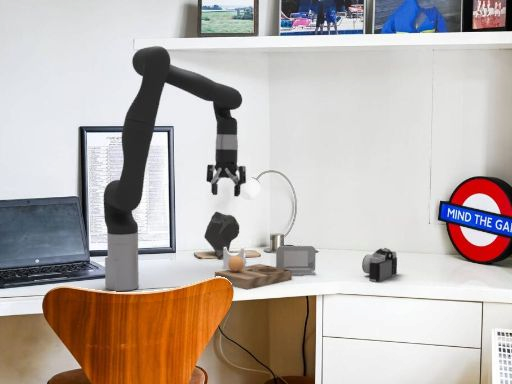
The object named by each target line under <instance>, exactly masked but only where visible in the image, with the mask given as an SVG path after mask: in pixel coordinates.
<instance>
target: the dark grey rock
mask: <svg viewBox="0 0 512 384" xmlns="http://www.w3.org/2000/svg"><path fill="white" fill-rule="evenodd" d="M239 234H240V224H239V222H238V221H237V219H236V217H235V216H234V215H231V214H226V213H225V214H224V213H222V212H219V211H215V212H214V213H213V215H212V216H211V219H210V221H209V222H208V225H207V226H206V230H205V233H204V236H203V237H204V239H205V240H206V242H207V243H208V244H209V245H210V246H211V247H212V249H213V250H214V254H215V253H216V254H217V255H218V256H217V255H216V256H217V258H218V257H219V258H218V261H219V260H220V261H223V248H224V247H227V250H228V252H229V253H230V248H231V242H232V241H234V240H235V239H236V238H238V236H239Z"/></svg>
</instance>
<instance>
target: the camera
mask: <svg viewBox="0 0 512 384" xmlns="http://www.w3.org/2000/svg"><path fill="white" fill-rule="evenodd" d="M361 267H362V271H363V273H365V274H368V275H369V277H368V280H369V281H370V282H375V283H376V282H381V281H384V280H387V279H389V278H390V279H391V278H393V277H396V276H397V273H398V272H397V271H398V268H397V267H398V257H397V252H396V251H391V249H389V248H387V247H383V248H382V247H381V248H378V249H377V250H375V251H374V252H373V253H372V254H366V255H365V256H364V257H363V259H362V263H361Z"/></svg>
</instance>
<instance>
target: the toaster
mask: <svg viewBox="0 0 512 384" xmlns="http://www.w3.org/2000/svg"><path fill="white" fill-rule="evenodd" d="M275 254H276V255H275V267H277V268H282V269H287V270H292V277H294V276H295V277H296V276H301V277H302V276H303V277H304V276H316V248H315V247H314V246H312V245H280V246H278V247H277V248H276V251H275Z"/></svg>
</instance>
